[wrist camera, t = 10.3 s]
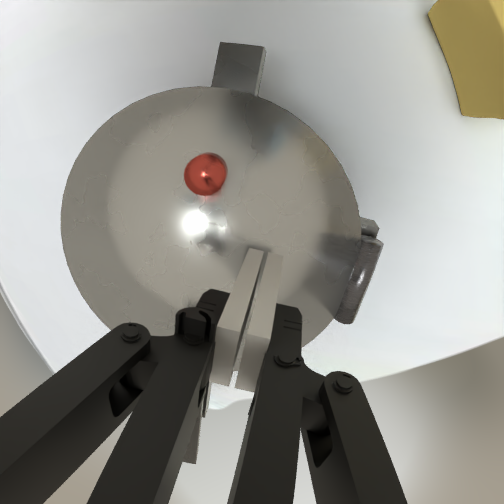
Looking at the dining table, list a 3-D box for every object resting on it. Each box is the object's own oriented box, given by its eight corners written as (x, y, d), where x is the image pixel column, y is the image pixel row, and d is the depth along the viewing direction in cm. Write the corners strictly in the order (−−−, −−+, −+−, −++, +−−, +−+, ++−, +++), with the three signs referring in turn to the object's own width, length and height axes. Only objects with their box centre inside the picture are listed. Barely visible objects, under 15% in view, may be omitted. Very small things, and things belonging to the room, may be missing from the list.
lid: (75, 83, 13) (50, 82, 11) (407, 133, 14) (428, 138, 12) (105, 421, 25) (98, 438, 23) (281, 454, 26) (281, 473, 24)
